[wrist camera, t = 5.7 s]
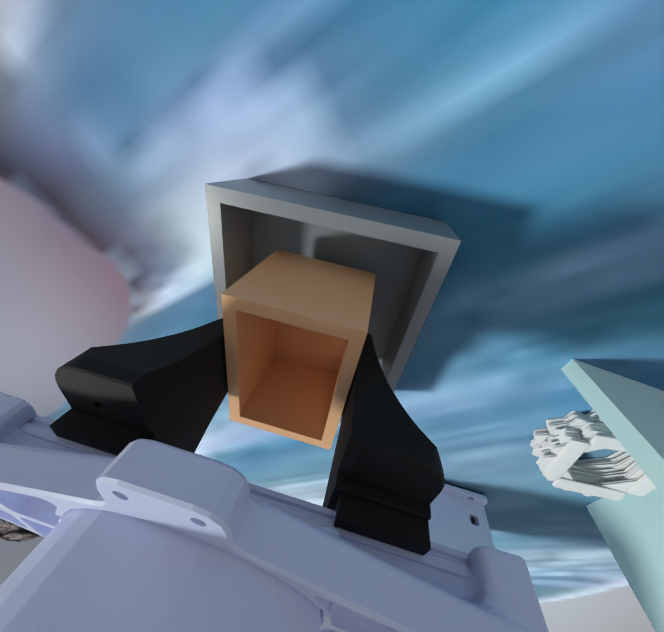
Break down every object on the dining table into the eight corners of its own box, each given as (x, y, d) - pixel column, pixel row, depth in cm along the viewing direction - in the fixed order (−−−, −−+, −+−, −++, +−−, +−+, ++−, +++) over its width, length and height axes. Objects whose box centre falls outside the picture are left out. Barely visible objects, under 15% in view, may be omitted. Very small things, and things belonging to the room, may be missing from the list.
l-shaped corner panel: (571, 357, 15) (704, 504, 8) (775, 429, 14) (1067, 635, 8) (458, 458, 21) (486, 583, 15) (597, 508, 21) (683, 657, 15)
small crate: (375, 273, 12) (367, 332, 8) (346, 374, 16) (330, 449, 12) (277, 249, 13) (221, 293, 8) (271, 353, 16) (230, 419, 12)
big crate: (445, 221, 12) (461, 240, 9) (378, 389, 19) (375, 431, 16) (247, 178, 13) (204, 183, 10) (249, 354, 20) (224, 387, 17)
